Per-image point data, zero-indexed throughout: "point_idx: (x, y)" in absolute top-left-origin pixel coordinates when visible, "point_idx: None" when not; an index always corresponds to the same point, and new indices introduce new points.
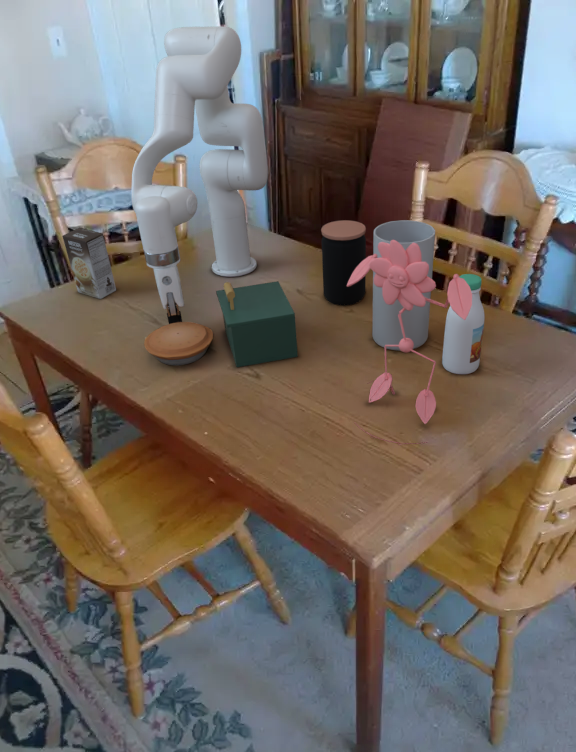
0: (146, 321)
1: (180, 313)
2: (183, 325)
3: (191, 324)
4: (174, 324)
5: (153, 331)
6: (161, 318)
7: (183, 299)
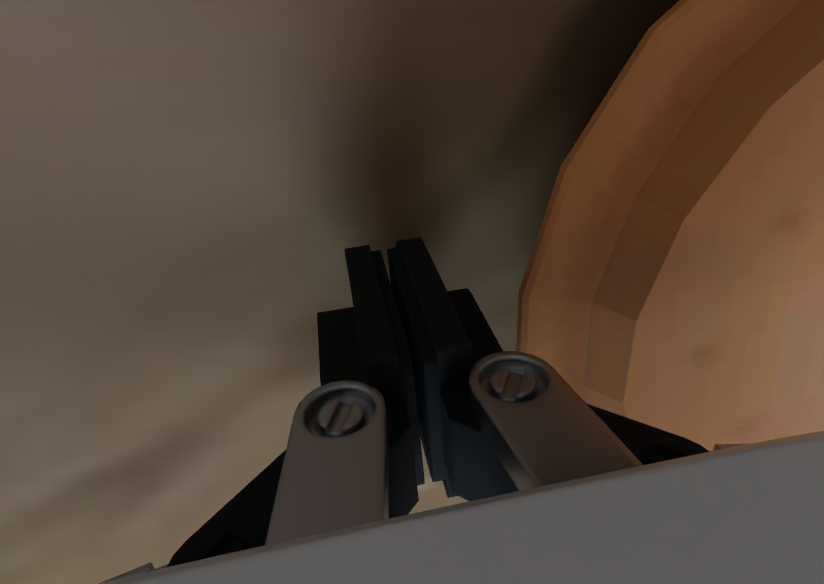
0: (128, 533)
1: (456, 348)
2: (781, 268)
3: (806, 152)
4: (677, 375)
5: None
6: (61, 443)
7: (779, 513)
